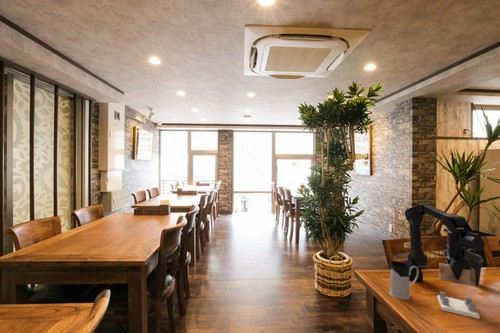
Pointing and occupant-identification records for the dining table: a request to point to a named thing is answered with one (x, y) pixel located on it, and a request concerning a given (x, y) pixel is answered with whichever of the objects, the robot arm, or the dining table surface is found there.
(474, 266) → the drinking cup
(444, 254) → the robot arm
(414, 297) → the dining table surface
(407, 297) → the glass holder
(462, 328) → the dining table surface
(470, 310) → the side panel
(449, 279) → the door
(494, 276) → the dining table surface
